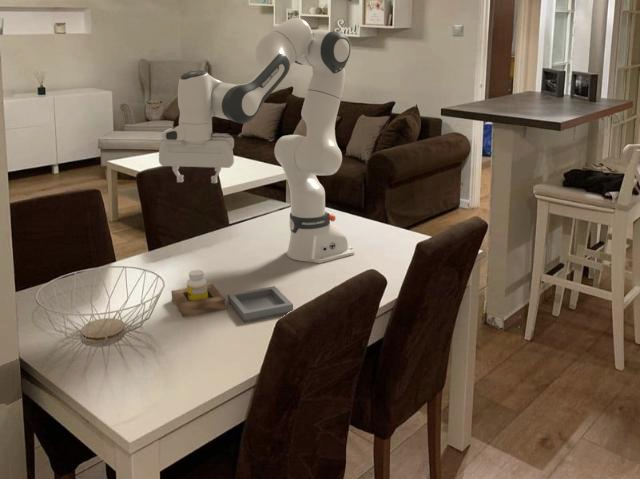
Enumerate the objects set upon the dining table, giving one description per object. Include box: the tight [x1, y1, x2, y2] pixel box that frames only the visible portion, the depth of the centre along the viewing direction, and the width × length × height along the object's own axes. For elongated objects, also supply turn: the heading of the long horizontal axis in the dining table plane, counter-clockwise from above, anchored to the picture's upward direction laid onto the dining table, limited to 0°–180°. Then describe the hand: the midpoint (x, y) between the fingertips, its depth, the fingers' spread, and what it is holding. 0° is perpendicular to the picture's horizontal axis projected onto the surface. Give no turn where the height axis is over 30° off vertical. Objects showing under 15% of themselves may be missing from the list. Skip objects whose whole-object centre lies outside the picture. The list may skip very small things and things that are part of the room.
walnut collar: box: [171, 283, 226, 318], centre depth 203 cm, size 12×12×3 cm
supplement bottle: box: [186, 269, 208, 302], centre depth 202 cm, size 5×5×10 cm
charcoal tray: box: [227, 285, 294, 323], centre depth 202 cm, size 14×14×2 cm
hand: (197, 182), depth 202 cm, fingers open, 8 cm apart
